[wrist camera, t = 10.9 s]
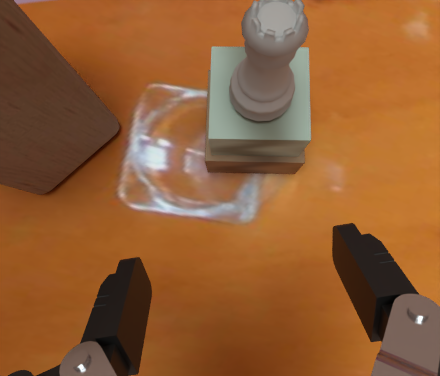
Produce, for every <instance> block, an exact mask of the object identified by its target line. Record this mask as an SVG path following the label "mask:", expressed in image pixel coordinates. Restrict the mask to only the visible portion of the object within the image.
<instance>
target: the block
mask: <svg viewBox="0 0 440 376" xmlns="http://www.w3.org/2000/svg"><path fill="white" fill-rule="evenodd" d="M119 129H120V126H119V123H118V120H117V118H116V117H115V116H114V115H113V114H112V113H111V111H110V110H109V109H108V108H107V107H106V106H105V105H104V103H103V102H102V101H101V100H100V99H99V98H98V97H97V95H96V94H95V93H94V92H93V91H92V90H91V89H90V87H89V86H88V85H87V84H86V83H85V82H84V81H83V79H82V78H81V77H80V76H79V75H78V74H77V72H76V71H75V70H74V69H73V68H72V67H71V66H70V64H69V63H68V62H67V61H66V60H65V59H64V58H63V56H62V55H61V54H60V53H59V52H58V51H57V50H56V48H55V47H54V46H53V45H52V44H51V43H50V42H49V40H48V39H47V38H46V37H45V36H44V35H43V34H42V32H41V31H40V30H39V29H38V28H37V27H36V26H35V24H34V23H33V22H32V21H31V20H30V19H29V17H28V16H27V15H26V14H25V13H24V12H23V11H22V9H21V8H20V7H19V6H18V5H17V4H16V3H15V2H14V0H0V184H2V185H6V186H9V187H13V188H17V189H20V190H24V191H28V192H31V193H35V194H39V195H42V194H45V193H47V192H49V191H51V190H52V189H53V188H54V187H56V186H57V185H58V184H59V183H60V182H61V181H62V180H64V179H65V178H66V177H67V176H68V175H69V174H71V173H72V172H73V171H74V170H75V169H76V168H77V167H79V166H80V165H81V164H82V163H83V162H84V161H86V160H87V159H88V158H89V157H90V156H91V155H92V154H94V153H95V152H96V151H97V150H98V149H99V148H101V147H102V146H103V145H104V144H105V143H106V142H107V141H109V140H110V139H111V138H112V137H113V136H114V135H116V134H117V132H118V130H119Z"/></svg>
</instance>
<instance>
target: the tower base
mask: <svg viewBox="0 0 440 376" xmlns="http://www.w3.org/2000/svg"><path fill="white" fill-rule="evenodd" d="M246 56H247V54H246V53H245V47H212V52H211V70H208V94H207V121H206V148H205V163H206V166H207V170H208V172H226V173H273V174H295V173H296V172H297V171H298V170H299V168H300V167H301V166H302V165H303V164H304V163H305V155H304V149H305V147H306V146H307V145H308V144H309V142H310V141H311V122H310V81H309V48H303V47H299V48H298V50H297V51H296V54H295V57H294V59H293V60H292V61H291V62H290V63H289V66H290V68H291V70H292V72H293V74H294V81H295V91H294V95H293V98H292V101H291V104H290V107H289V108H288V109H287V110H286V111H285V112H284V113H283V114H282V115H281V116H279V117H277V118H274V119H272V120H270V121H255V120H252V119H249V118H245V117H244V116H243V115H242V114H240V113H239V112H238V111H237V110H235V108H234V106H233V104H232V102H231V100H230V94H229V86H230V80H231V77H232V74H233V72H234V69H235V68H236V66H237V65H238V64H239V63H240V62H241V61H242V60H243V59H244V58H246Z"/></svg>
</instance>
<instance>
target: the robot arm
mask: <svg viewBox="0 0 440 376" xmlns="http://www.w3.org/2000/svg"><path fill="white" fill-rule="evenodd" d="M332 255H333V261H334V265H335V268H336V270H337V272H338V274H339V276H340V278H341V281H342V283H343V285H344V287H345V289H346V291H347V293H348V295H349V297H350V299H351V301H352V303H353V305H354V308H355V310H356V312H357V314H358V316H359V318H360V320H361V322H362V324H363V326H364V328H365V330H366V333H367V335H368V337H369V339H370V341H371V342H376V341H382V345H381V349H380V352H379V353H378V354H377V357H376V361H375V364H374V367H373V371H372V374H371V376H440V307H439V306H438V305H437V304H436V303H435V302H434V301H432V300H430V299H429V298H427V297H424V296H422V295H419V293H418V292H417V291H416V290H415V288H414V287H413V285H412V284H411V283H410V281H409V280H408V278H407V277H406V276H405V274H404V273H403V271H402V270H401V269H400V267H399V266H398V264H397V263H396V262H394V259H393V257H392V256H391V255H390V253H388V250H387V249H386V248H385V246H384V245H383V244H382V242H381V241H380V240H378V239H377V238H375V237H374V236H372V235H371V234H364V235H361V233H360V232H359V230H358V229H357V227H356V226H355V224H353V223H350V224H343V225H337V226H334V227H333V247H332ZM151 297H152V288H151V283H150V280H149V278H148V275H147V273H146V271H145V268H144V266H143V263H142V261H141V259H140V258H139V257H136V258H130V259H124V260H120V262H119V264H118V267H117V270H116V274H110V275H109V276H108V277H107V278H106V279H105V281H104V282H103V283H102V284H101V286H100V289H99V292H98V295H97V298H96V300H95V303H94V308H93V309H92V312H91V315H90V317H89V320H88V323H87V326H86V329H85V331H84V334H83V337H82V340H81V342H80V344H79V345H77V346H75V347H74V348H73V349H71V350H70V351H69V352H68V353H67V355H66V356H65V357H64V359H63V361H62V362H61V364H60V365H58V366H56V367H54V368H52V369H50V370H48V371H45V372H43V373H41V374H39V375H37V376H129V375H136V374H138V373H139V367H140V361H141V355H142V349H143V344H144V338H145V332H146V326H147V321H148V315H149V309H150V303H151ZM8 376H33V374H32V373H31V372H29V371H27V370H20V371H16V372H14V373H12V374H10V375H8Z"/></svg>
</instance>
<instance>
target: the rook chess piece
mask: <svg viewBox="0 0 440 376" xmlns="http://www.w3.org/2000/svg"><path fill="white" fill-rule="evenodd" d="M303 9H304V4H303V2H302V1H301V0H295V1H294V2H293V1H292V0H260V1H258V2H256V1H253V4H252V6H251V7H250V8H249V9H248V10H247V11H246V12H245V15H244V17H243V20H242V23H241V24H242V35H243V37H244V39H245V53H246V54H247V56H246V58H244V59H243V60H242V61H241V62H240V63H239V64H238V65H237V66H236V68H235V69H234V72H233V74H232V77H231V80H230V86H229V94H230V100H231V102H232V104H233V106H234V108H235V110H237V111H238V112H239V113H240V114H242V115H243V116H244V117H245V118H249V119H252V120H255V121H270V120H272V119H274V118H277V117H279V116H281V115H282V114H283V113H284V112H285V111H286V110H287V109H288V108H289V107H290V104H291V101H292V98H293V95H294V91H295V81H294V74H293V72H292V70H291V68H290V66H289V63H290V62H291V61H292V60H293V59H294V57H295V54H296V51H297V50H298V48H299V47H300V46H301V45H302V44H303V43H304V42H305V40H306V37H307V34H308V31H309V29H308V20H307V17H306V15H305V14H304V12H303Z"/></svg>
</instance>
